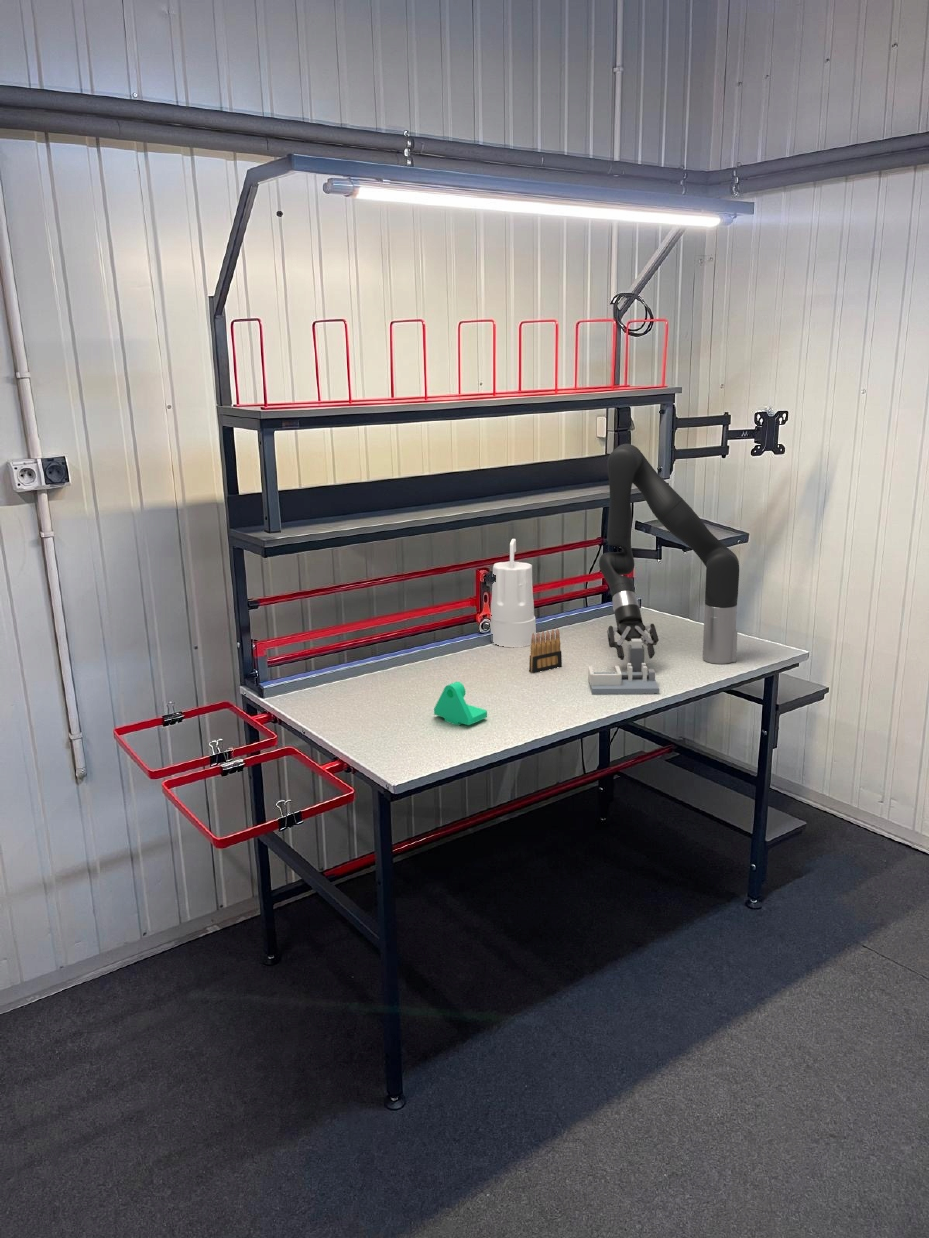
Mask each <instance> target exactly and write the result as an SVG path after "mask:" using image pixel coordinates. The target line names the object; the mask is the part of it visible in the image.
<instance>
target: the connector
mask: <svg viewBox="0 0 929 1238" xmlns="http://www.w3.org/2000/svg"><path fill="white" fill-rule="evenodd" d="M627 658H628V659H627V661H628V662H627V663H631V666H632V672H641V671H642V663H645V647H644V644H643V643H642V640H641V639H631V641H630V644H628V657H627Z"/></svg>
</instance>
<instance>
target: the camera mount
mask: <svg viewBox="0 0 929 1238" xmlns="http://www.w3.org/2000/svg"><path fill="white" fill-rule="evenodd" d="M465 696H466V688H465V686H464V684H463V683H462V682H460V681H456V682H453V683H450V684H448V685H445V687H444V688H443V691H442V693H441V694H440V697H439V698H438V700H437V701H436V702H437V703H435V706H434V709H433V715H436V716H438V717H441V718H444V722H446V721H447V723H449V722H450V724H452V723H453V725H455V726H460V725H465V726H466V725H467V726H471V725H473V724H475V723H477V722H480V721H482V720H485V719H487V718H488V710H486V709H484V708H480V707H477V706H473V705H470V704H467V702H466V700H465Z"/></svg>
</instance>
